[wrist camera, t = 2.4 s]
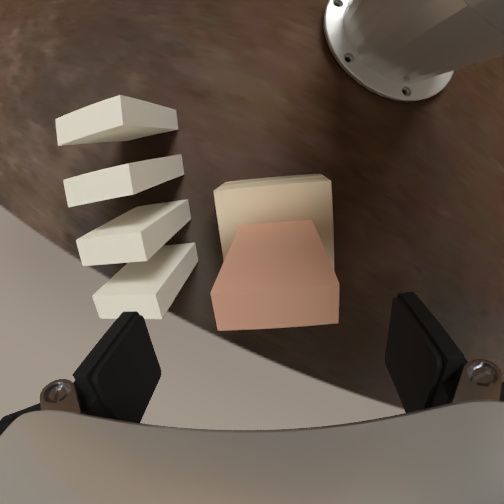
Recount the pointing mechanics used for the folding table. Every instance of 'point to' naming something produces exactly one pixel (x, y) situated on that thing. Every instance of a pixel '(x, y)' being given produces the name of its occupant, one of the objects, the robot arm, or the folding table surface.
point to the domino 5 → (276, 279)
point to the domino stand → (276, 205)
